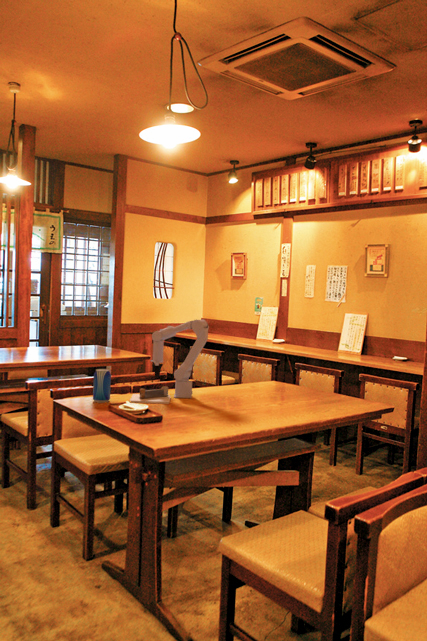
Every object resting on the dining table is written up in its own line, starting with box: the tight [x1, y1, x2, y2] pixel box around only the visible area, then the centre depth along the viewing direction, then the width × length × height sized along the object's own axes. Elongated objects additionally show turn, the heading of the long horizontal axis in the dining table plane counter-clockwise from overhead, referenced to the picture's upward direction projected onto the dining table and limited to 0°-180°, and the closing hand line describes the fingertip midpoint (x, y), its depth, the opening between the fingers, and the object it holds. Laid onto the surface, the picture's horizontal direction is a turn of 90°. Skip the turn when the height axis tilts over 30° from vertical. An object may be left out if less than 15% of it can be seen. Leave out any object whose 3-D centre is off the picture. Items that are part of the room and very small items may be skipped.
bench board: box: [129, 393, 171, 405], centre depth 263 cm, size 20×18×1 cm
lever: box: [139, 385, 169, 399], centre depth 264 cm, size 17×4×5 cm, turn 130°
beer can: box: [92, 368, 112, 404], centre depth 252 cm, size 8×8×16 cm
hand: (157, 376), depth 279 cm, fingers closed
